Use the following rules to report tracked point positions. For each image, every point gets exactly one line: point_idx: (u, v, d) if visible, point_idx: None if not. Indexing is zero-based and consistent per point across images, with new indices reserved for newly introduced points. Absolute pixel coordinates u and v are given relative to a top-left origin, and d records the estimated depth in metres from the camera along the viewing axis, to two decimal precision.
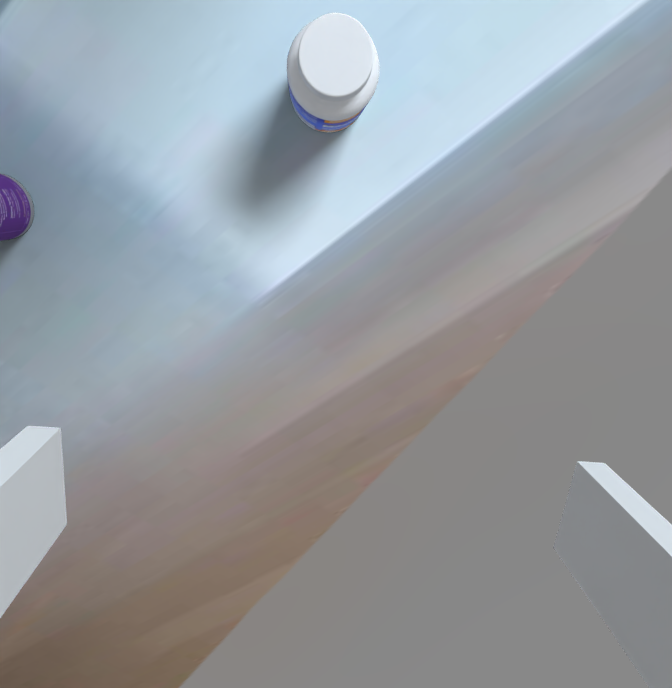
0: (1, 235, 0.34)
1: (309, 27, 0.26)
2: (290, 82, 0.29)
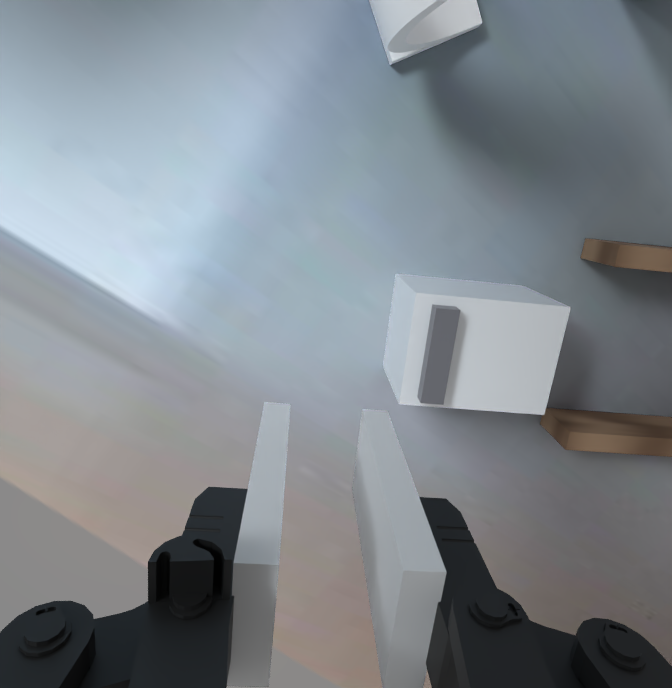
0: None
1: None
2: None
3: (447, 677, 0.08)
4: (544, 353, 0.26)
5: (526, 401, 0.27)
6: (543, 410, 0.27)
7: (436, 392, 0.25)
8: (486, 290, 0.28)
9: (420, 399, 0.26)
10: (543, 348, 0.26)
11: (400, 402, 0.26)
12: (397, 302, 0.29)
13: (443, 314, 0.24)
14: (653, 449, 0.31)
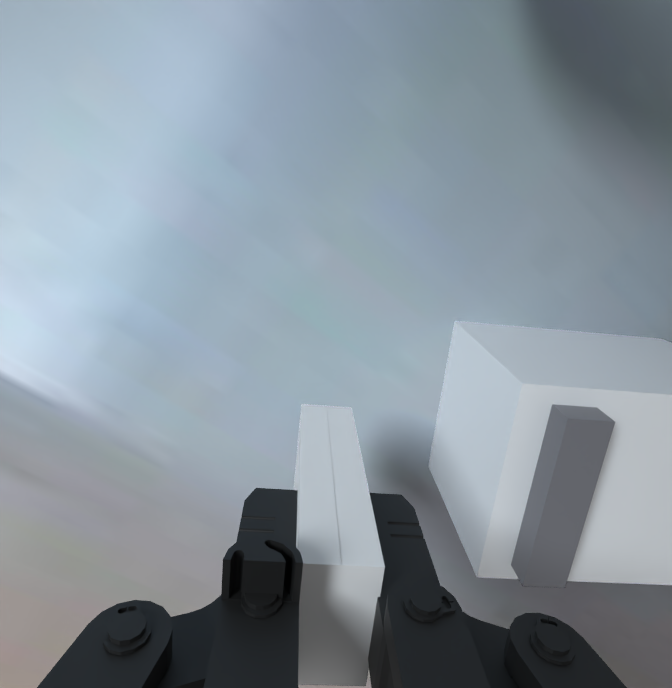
0: None
1: None
2: None
3: (384, 675, 0.08)
4: None
5: None
6: None
7: (554, 567, 0.13)
8: (627, 360, 0.15)
9: (521, 577, 0.14)
10: None
11: (479, 574, 0.14)
12: (462, 374, 0.17)
13: (581, 430, 0.12)
14: None
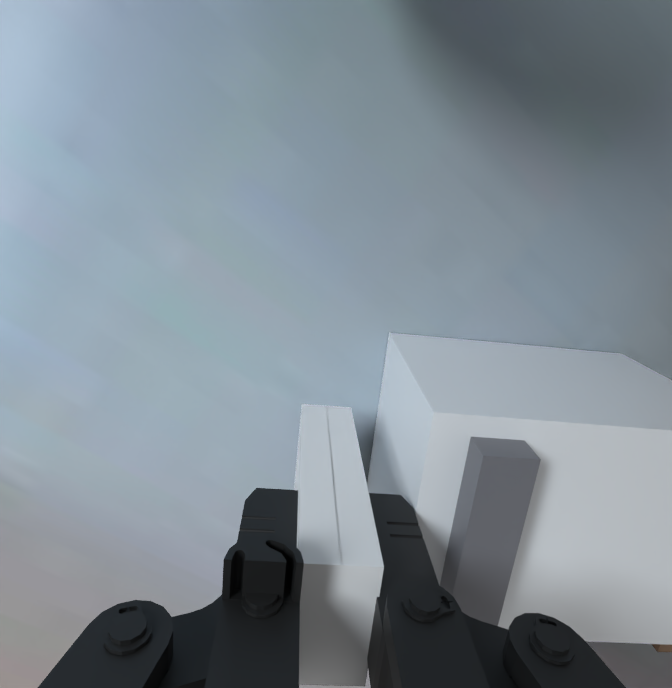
0: None
1: None
2: None
3: (383, 675, 0.08)
4: None
5: (662, 622, 0.13)
6: None
7: None
8: (573, 381, 0.14)
9: None
10: None
11: None
12: (392, 395, 0.15)
13: (499, 469, 0.10)
14: None
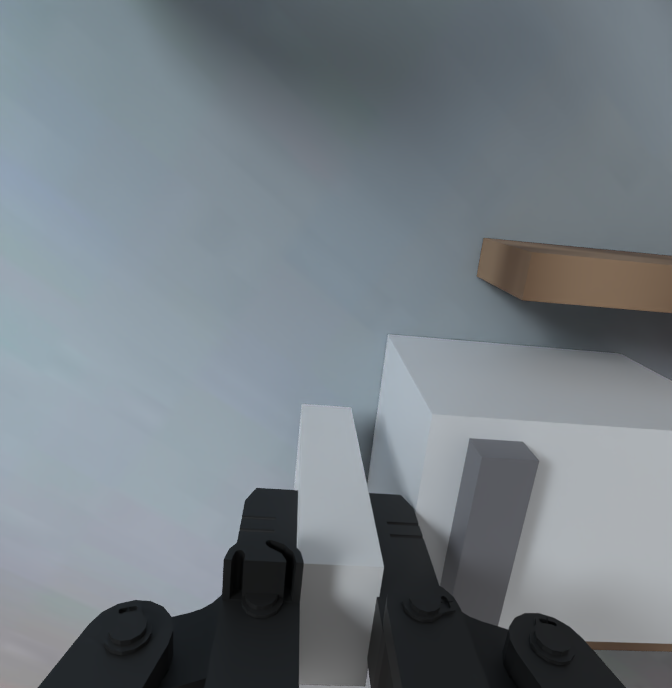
0: None
1: None
2: None
3: (383, 675, 0.08)
4: None
5: (662, 621, 0.13)
6: None
7: None
8: (572, 382, 0.14)
9: None
10: None
11: None
12: (391, 396, 0.15)
13: (498, 470, 0.10)
14: None
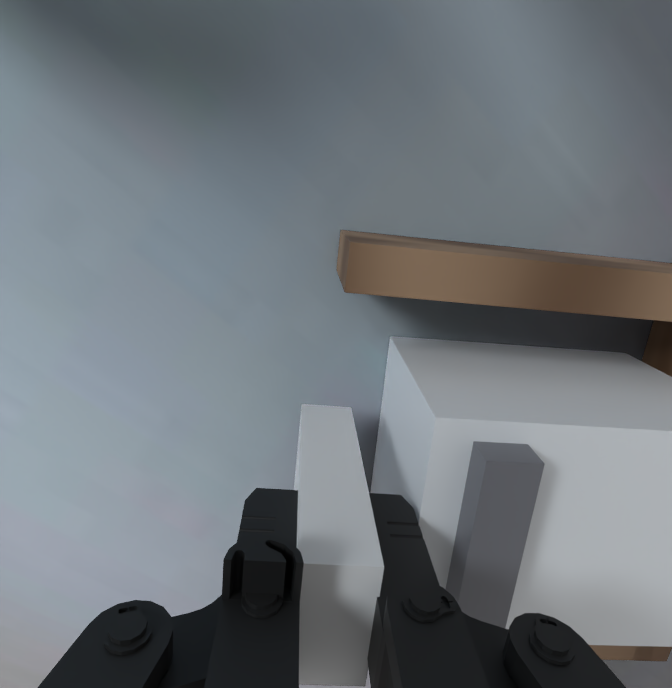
0: None
1: None
2: None
3: (384, 675, 0.08)
4: None
5: (671, 624, 0.13)
6: None
7: None
8: (576, 382, 0.13)
9: None
10: None
11: None
12: (394, 399, 0.15)
13: (503, 474, 0.10)
14: None
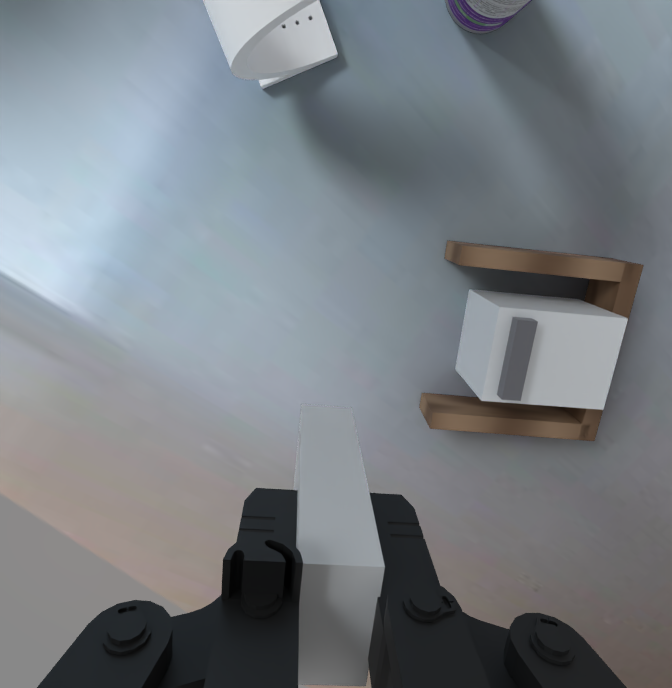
0: None
1: None
2: None
3: (384, 675, 0.08)
4: (604, 357, 0.31)
5: (588, 398, 0.32)
6: (602, 405, 0.32)
7: (515, 390, 0.30)
8: (552, 304, 0.33)
9: (501, 396, 0.30)
10: (604, 353, 0.31)
11: (482, 399, 0.31)
12: (473, 314, 0.34)
13: (523, 325, 0.29)
14: (510, 429, 0.35)
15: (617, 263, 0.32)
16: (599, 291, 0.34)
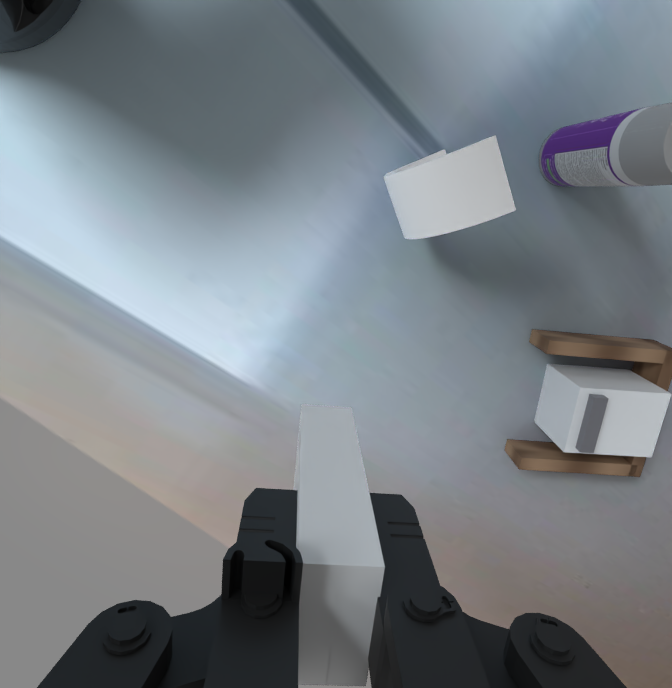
0: None
1: None
2: None
3: (384, 675, 0.08)
4: (653, 421, 0.42)
5: (641, 449, 0.43)
6: (651, 454, 0.43)
7: (590, 446, 0.42)
8: (613, 379, 0.44)
9: (579, 450, 0.42)
10: (653, 418, 0.42)
11: (564, 451, 0.43)
12: (552, 384, 0.46)
13: (598, 401, 0.41)
14: (578, 469, 0.46)
15: (661, 350, 0.43)
16: (645, 366, 0.46)
